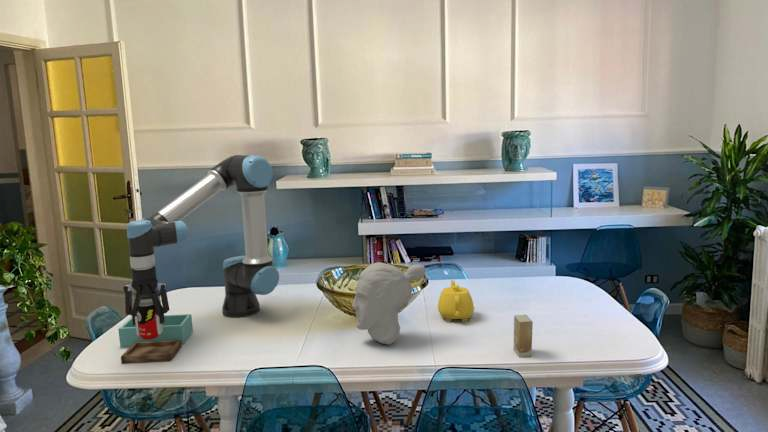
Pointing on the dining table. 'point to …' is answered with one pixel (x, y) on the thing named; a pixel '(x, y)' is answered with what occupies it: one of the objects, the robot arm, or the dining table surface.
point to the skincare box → (523, 335)
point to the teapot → (455, 303)
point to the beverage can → (147, 320)
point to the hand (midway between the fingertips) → (149, 333)
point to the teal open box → (172, 330)
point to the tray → (151, 351)
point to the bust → (383, 299)
